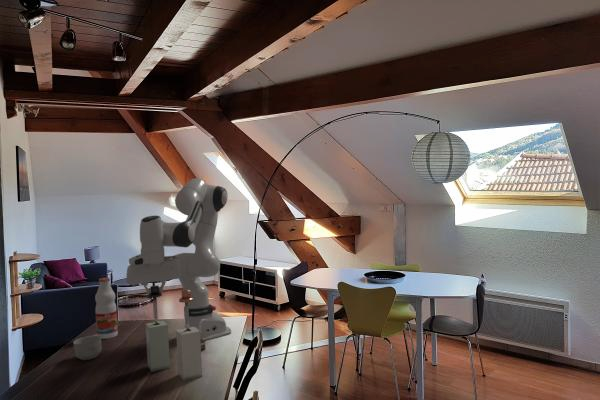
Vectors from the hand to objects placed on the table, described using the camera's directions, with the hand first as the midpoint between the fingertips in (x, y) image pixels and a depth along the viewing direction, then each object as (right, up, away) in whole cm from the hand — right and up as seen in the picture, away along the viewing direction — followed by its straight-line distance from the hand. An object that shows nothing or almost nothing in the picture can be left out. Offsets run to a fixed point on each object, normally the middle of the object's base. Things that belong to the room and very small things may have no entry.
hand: (154, 293), depth 192 cm
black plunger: (+1, -16, +1) cm, 16 cm away
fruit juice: (-36, -30, +45) cm, 64 cm away
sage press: (+1, -29, +1) cm, 29 cm away
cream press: (+16, -29, -9) cm, 34 cm away
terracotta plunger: (+15, -15, -10) cm, 24 cm away
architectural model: (+13, -29, +19) cm, 37 cm away
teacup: (-32, -30, +17) cm, 48 cm away
